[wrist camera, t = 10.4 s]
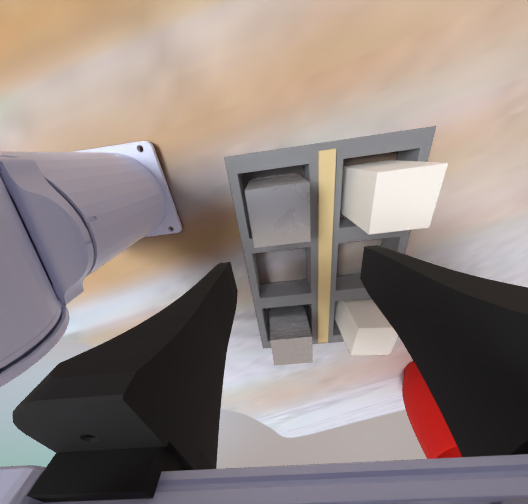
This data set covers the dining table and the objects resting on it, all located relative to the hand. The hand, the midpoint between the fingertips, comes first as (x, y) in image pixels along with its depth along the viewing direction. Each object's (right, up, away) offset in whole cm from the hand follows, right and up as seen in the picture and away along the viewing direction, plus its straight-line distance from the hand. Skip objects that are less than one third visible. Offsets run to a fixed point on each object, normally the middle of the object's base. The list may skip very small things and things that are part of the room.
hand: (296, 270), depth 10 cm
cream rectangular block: (+9, -5, +13) cm, 17 cm away
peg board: (+4, 0, +10) cm, 11 cm away
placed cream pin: (+7, +7, +7) cm, 12 cm away
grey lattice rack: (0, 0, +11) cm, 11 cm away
